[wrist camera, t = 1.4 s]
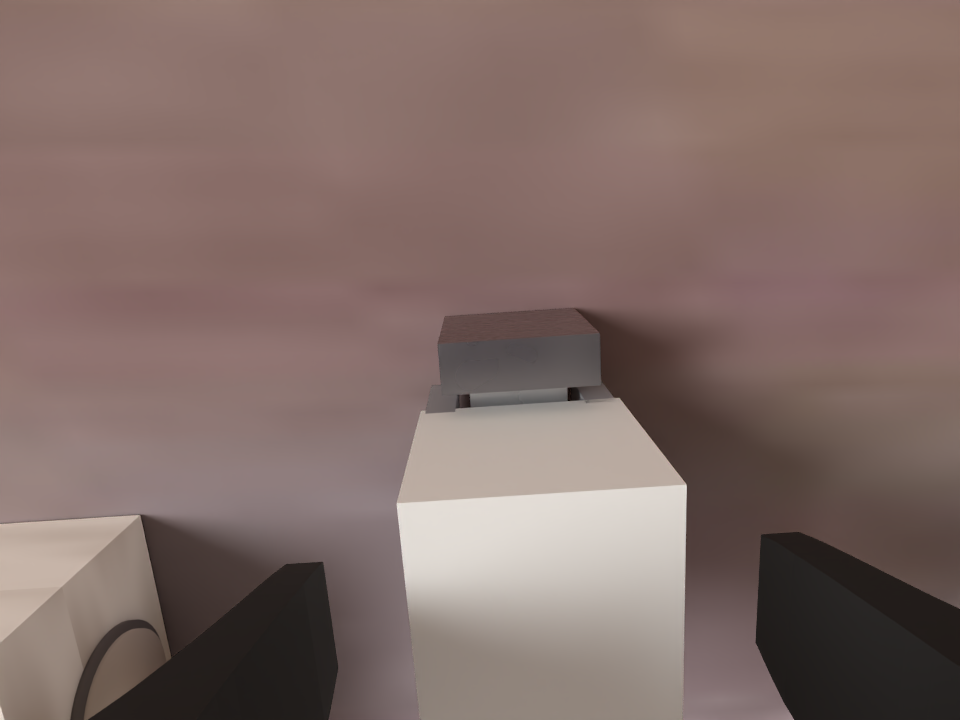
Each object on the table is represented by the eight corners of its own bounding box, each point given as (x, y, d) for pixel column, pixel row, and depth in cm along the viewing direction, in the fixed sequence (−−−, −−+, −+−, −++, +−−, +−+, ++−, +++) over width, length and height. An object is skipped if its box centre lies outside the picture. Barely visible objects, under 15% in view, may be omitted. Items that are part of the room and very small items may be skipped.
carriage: (604, 567, 15) (681, 777, 10) (444, 578, 15) (427, 793, 10) (601, 374, 14) (686, 484, 8) (427, 386, 14) (396, 503, 8)
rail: (589, 845, 18) (611, 968, 15) (487, 852, 18) (490, 976, 15) (574, 307, 14) (600, 332, 11) (444, 316, 14) (437, 343, 11)
